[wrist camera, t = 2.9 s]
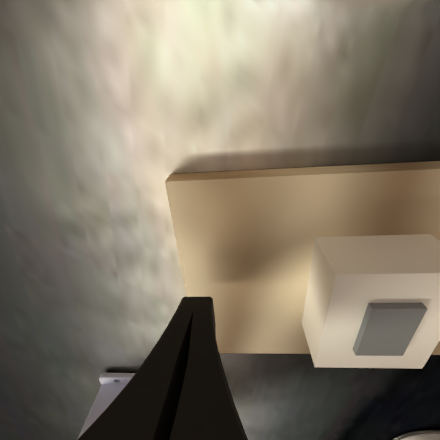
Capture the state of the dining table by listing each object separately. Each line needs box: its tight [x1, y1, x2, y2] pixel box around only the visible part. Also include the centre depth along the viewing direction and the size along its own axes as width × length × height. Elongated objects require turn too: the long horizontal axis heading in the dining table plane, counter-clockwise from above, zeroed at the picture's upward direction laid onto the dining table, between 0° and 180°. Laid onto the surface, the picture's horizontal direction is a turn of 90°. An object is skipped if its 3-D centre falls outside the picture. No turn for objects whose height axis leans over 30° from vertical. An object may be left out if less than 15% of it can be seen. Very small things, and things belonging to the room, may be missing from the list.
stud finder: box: [302, 234, 440, 368], centre depth 11 cm, size 5×6×3 cm
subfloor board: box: [165, 161, 440, 355], centre depth 12 cm, size 26×12×1 cm, turn 94°
